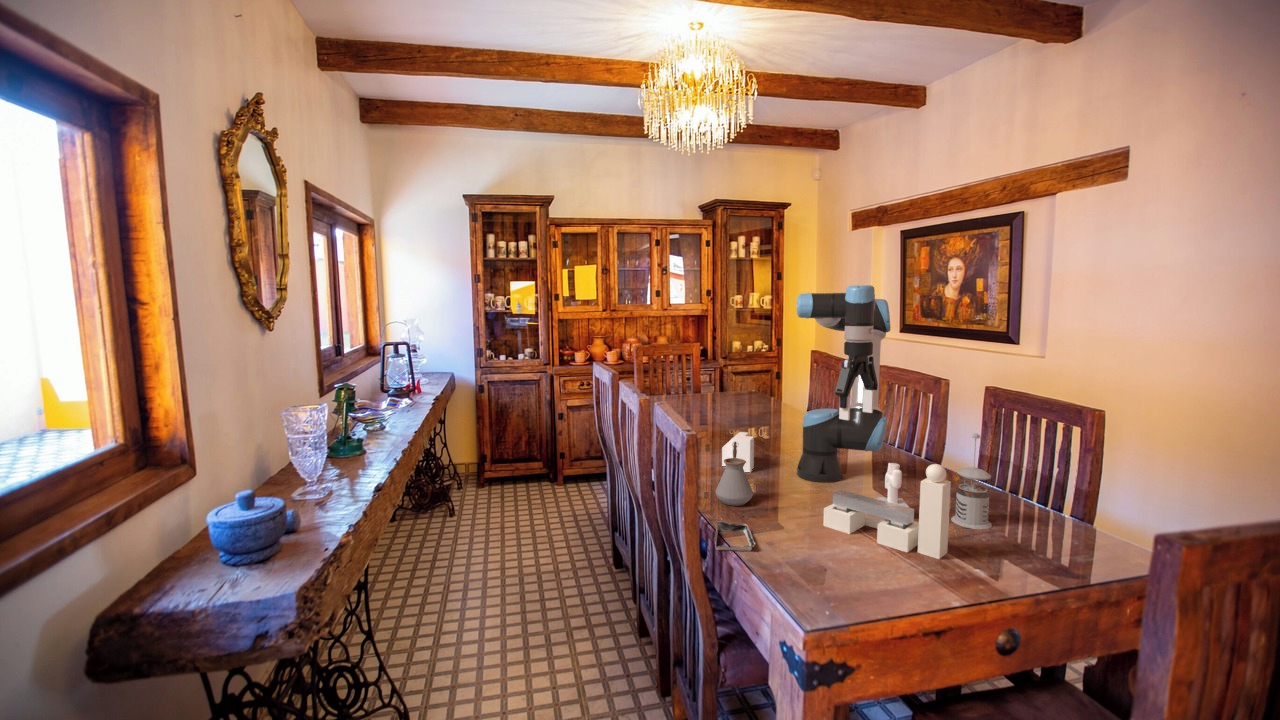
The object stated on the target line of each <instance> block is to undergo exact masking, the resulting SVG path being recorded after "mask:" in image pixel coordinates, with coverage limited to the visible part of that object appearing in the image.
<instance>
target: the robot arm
mask: <svg viewBox="0 0 1280 720" xmlns="http://www.w3.org/2000/svg"><path fill="white" fill-rule="evenodd" d="M796 315H797V317H798V318H801V319H814V320H815V322H817V325H820V326H821V327H824V328H827V329H829V330H834V331H838V332H839V331H840V332H844V336H843V337H844V340H845V342H844V343H843V353H844V355H846V356H848V358H847V359H842V360H841V367H840V372H839V376H838V379H837V383H836V385H835V391H834V394H835V396H839V410H838V408H837V409H836V408H818V409H813V410H809V411H806V412H805V413H804V415H803V419H802V421H803V422H802V452H801V455H800V459H799V461H798V464H797V468H796V475H797V476H798V477H799V478H801V479H803V480H807V481H811V482H818V483H832V482H833V483H834V482H837V481H840V480H842V479H843V469H842V465H841V461H840V459H839V456H838V451H839V450H838V449H840V450H841V449H843V450H854V451H863V452H879V451H880V450H881V449H882V448H883V444H884V440H885V434H886V429H887V422H888V418H887V417H885V416H883V410H882V409H881V408H879V394H880V392H879V391H880V369H881V367H880V366H881V349H882V348H881V346H882V345H881V344H882V340H884V339H885V338H886V336H887V333H889V332H891V319H890V317H891V316H890V315H891V314H890V309H889V303H888V301H887V300H886V299H885V298H876V294H875V287H874V285H872V284H870V285H865V284H864V285H863V284H862V285H849V286H847V287H846V289H845V292H830V293H829V292H827V293H826V292H825V293H821V292H819V293H818V292H817V293H815V292H814V293H813V292H812V293H811V292H808V293H807V292H806V293H800V294H799V295H797V299H796ZM850 393H851V396H849V395H850Z"/></svg>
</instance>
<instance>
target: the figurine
mask: <svg viewBox="0 0 1280 720" xmlns="http://www.w3.org/2000/svg"><path fill="white" fill-rule="evenodd" d="M884 476H885V477H884V488H885V489H886V490H887V497H882V496H881V497H878V496H877V497H875V499H877V500H881V501H885V502H889V503H893V504H897V505H901V506H904V507H908V508H910V506H909V505H908V504H907V502H906V501H905V500H904V499H903V498H902V497H901V498H900V497H899V495H898V494H899V493H898V492H899V489H901V488H902V487H901V486H902V484H903V483H902V481H903V471H902V470H901V469H900V464H899V463H896V462H888V464H887V470H886V472H885V475H884Z"/></svg>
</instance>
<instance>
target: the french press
mask: <svg viewBox="0 0 1280 720" xmlns="http://www.w3.org/2000/svg"><path fill="white" fill-rule="evenodd" d="M980 437H981V435H980V434H979V433H972V436H971V438H973V439H974V454H973V455H974V456H973V467H963V468H960V469H958V470H957V471H956V474H957V475H958V476H961V477H963V478H964V483H961V484H958V486H957V487H958V488H957V490H956V498H955V515H953V516H952V517H951V519H950V520H951V521H952V522H953V524H955V525H958V526H961V527H963V528H967V529H971V530H972V529H973V530H989V529H991V528H992V526H993V525H992V523H991V522H990V521H989V509H990V494H988V492H989V489H988V488H987V487H984V486H982V485H979V484H974V483H975V480H976V481H988V480H990V479H991V478H992V475H991V474H990V473H988V472H987V471H986V470H984V469H981V468H979V467H976V449H977V447H976V446H977V439H980ZM967 480H970V483H966V481H967ZM969 494H970V495H971V497H969Z"/></svg>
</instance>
